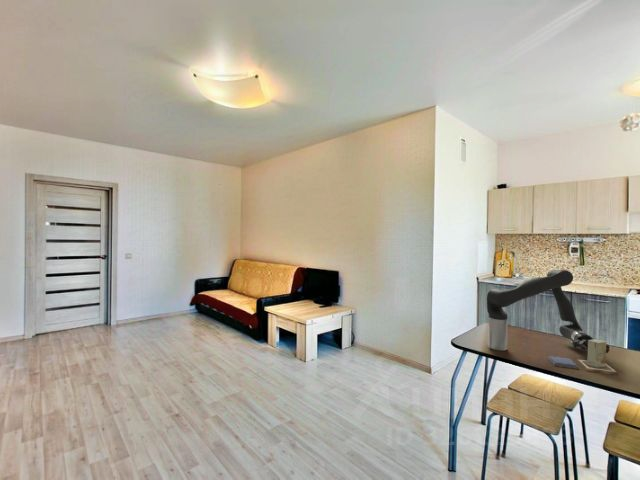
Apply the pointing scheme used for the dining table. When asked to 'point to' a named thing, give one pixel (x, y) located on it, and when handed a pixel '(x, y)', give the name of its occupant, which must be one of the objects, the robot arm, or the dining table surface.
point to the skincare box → (596, 353)
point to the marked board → (606, 369)
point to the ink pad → (562, 362)
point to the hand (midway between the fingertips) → (595, 349)
